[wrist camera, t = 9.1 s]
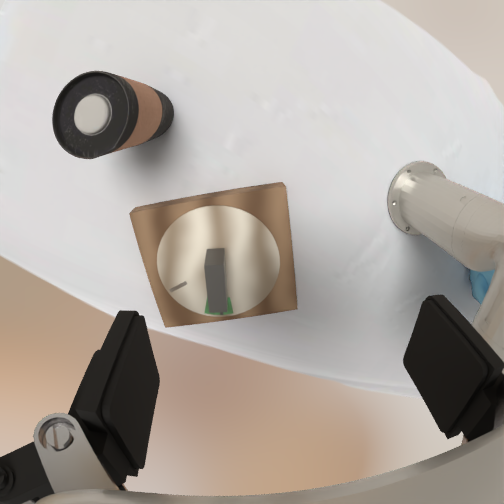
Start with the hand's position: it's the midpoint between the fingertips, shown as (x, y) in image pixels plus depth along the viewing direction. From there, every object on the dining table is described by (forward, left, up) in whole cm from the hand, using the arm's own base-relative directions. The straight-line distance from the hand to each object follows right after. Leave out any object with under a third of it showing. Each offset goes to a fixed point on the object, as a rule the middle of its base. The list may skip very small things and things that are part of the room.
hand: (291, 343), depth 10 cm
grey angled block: (+6, +15, -33) cm, 36 cm away
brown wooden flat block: (+6, +13, -36) cm, 39 cm away
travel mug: (+12, -10, -36) cm, 40 cm away
